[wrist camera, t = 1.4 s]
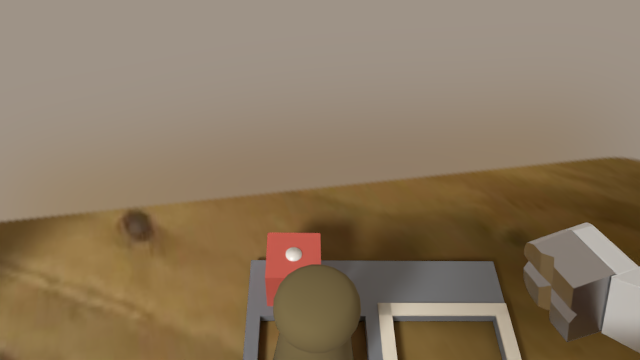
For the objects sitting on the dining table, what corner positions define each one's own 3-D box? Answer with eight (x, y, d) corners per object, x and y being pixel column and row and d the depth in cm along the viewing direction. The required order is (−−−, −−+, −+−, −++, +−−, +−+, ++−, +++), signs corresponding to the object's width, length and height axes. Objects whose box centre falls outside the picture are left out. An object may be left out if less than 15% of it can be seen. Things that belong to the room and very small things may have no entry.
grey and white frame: (234, 481, 34) (232, 476, 33) (251, 265, 44) (251, 258, 44) (548, 478, 34) (553, 474, 34) (490, 266, 45) (493, 260, 44)
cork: (295, 320, 41) (295, 234, 33) (367, 354, 40) (386, 272, 32) (255, 390, 38) (244, 313, 29) (333, 431, 36) (344, 360, 28)
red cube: (267, 306, 41) (265, 277, 38) (269, 262, 44) (267, 231, 41) (319, 306, 41) (321, 277, 38) (318, 262, 44) (320, 232, 41)
